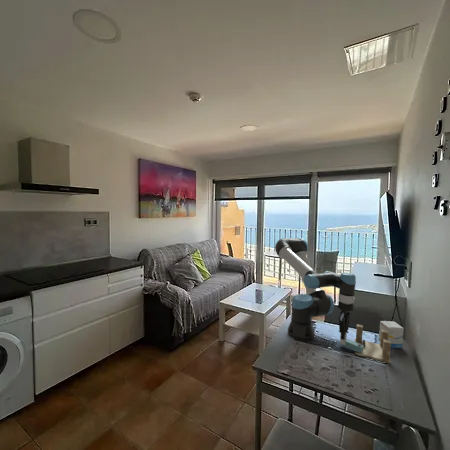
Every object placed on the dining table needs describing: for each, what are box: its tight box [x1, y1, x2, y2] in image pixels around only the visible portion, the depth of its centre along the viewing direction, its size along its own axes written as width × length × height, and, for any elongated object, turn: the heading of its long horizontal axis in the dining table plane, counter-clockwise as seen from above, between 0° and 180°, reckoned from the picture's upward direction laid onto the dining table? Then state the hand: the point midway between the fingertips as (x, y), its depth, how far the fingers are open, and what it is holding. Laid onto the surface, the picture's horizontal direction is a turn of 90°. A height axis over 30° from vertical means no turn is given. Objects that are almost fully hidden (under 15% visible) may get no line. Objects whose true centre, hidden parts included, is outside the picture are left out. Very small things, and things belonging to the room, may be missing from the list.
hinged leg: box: [339, 338, 364, 353], centre depth 137 cm, size 11×3×4 cm, turn 43°
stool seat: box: [354, 324, 392, 364], centre depth 136 cm, size 16×16×10 cm
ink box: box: [378, 320, 404, 349], centre depth 144 cm, size 9×8×12 cm
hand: (342, 344), depth 138 cm, fingers closed
